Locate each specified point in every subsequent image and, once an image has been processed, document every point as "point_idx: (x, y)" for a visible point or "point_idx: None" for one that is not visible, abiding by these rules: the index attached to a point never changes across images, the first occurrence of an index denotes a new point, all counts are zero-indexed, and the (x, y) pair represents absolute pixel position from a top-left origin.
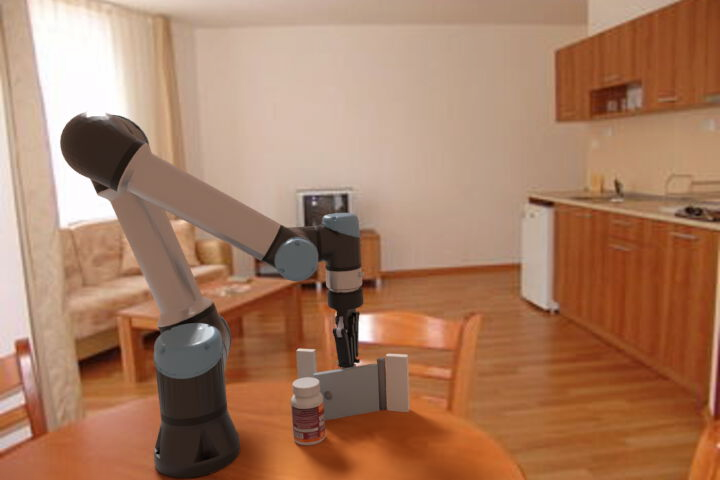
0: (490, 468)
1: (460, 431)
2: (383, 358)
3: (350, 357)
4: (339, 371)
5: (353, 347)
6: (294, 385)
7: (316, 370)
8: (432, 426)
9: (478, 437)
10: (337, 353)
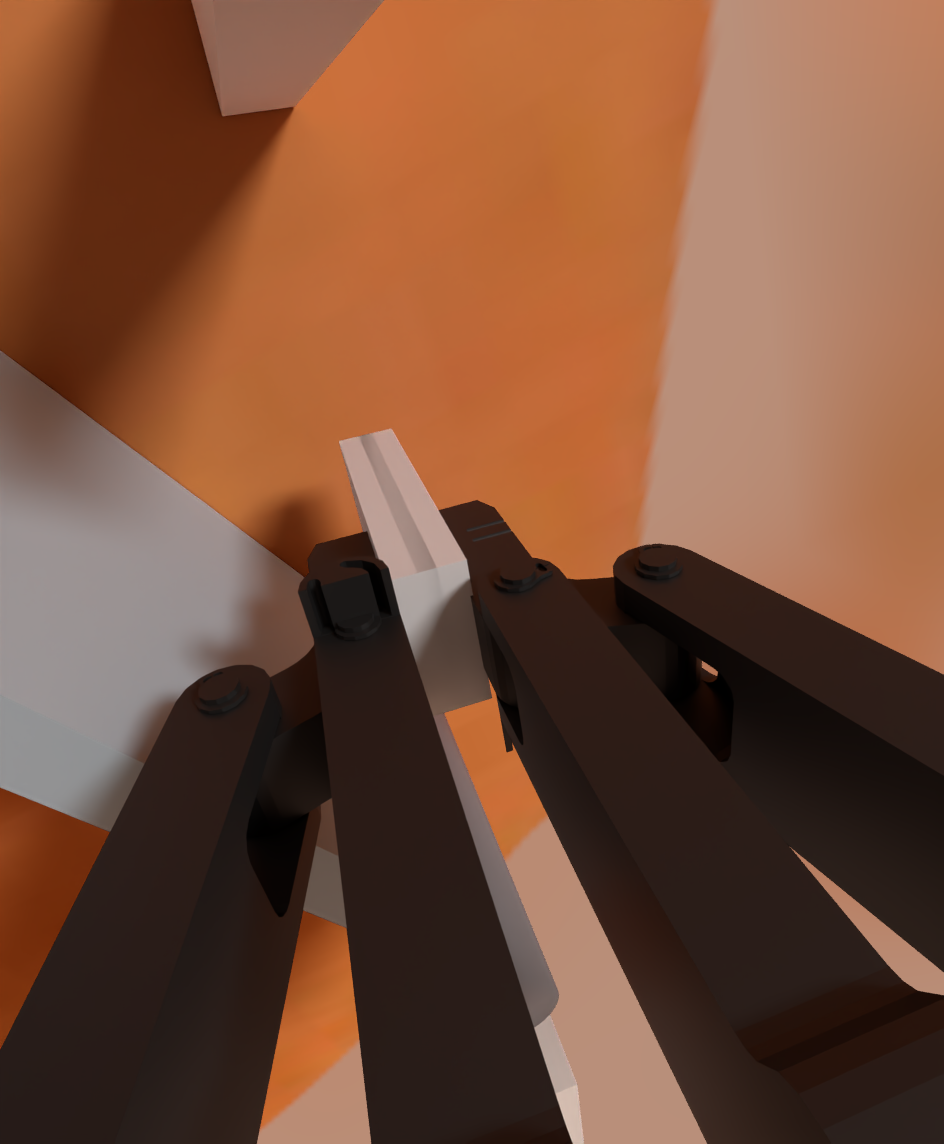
0: None
1: (314, 1021)
2: (534, 1015)
3: (292, 919)
4: (14, 792)
5: (581, 872)
6: None
7: (335, 51)
8: (303, 938)
9: (296, 1076)
10: (49, 965)
